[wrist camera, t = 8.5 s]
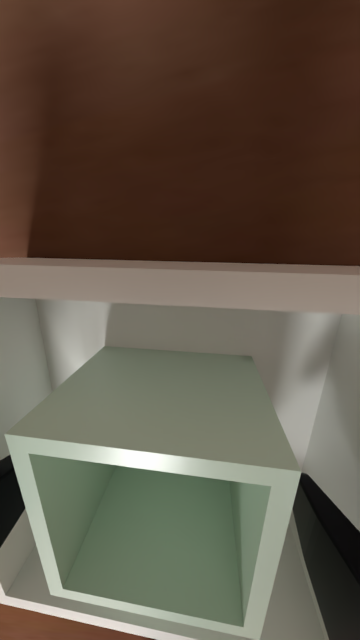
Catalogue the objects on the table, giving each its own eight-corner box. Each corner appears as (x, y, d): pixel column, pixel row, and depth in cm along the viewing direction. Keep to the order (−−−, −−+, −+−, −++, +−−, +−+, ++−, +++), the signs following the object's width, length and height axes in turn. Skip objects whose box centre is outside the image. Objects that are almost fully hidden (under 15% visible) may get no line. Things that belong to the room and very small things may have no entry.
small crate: (236, 471, 11) (259, 640, 6) (115, 455, 12) (50, 595, 7) (251, 356, 9) (301, 471, 4) (104, 345, 10) (4, 434, 5)
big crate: (295, 517, 12) (350, 684, 7) (68, 482, 14) (-6, 601, 9) (361, 265, 8) (583, 282, 3) (26, 257, 10) (-151, 260, 5)
